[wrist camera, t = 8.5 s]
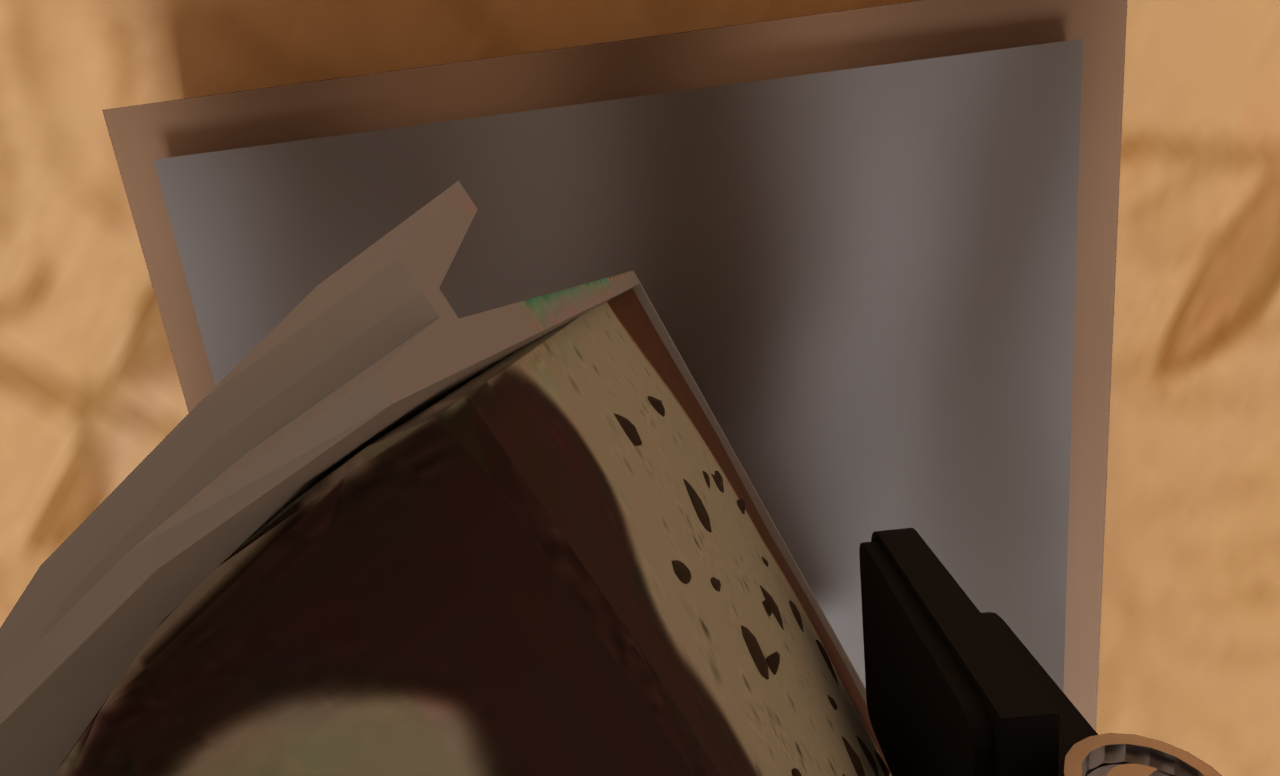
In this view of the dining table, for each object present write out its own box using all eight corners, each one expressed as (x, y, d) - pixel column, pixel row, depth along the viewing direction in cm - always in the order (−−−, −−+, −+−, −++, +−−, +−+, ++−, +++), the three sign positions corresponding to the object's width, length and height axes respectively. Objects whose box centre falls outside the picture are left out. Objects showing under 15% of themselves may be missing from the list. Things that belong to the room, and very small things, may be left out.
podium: (1050, 8, 15) (1148, -37, 12) (1036, 757, 19) (1104, 856, 16) (187, 123, 16) (81, 106, 13) (367, 814, 20) (318, 918, 17)
